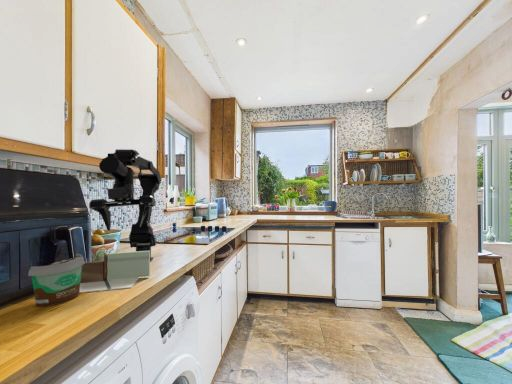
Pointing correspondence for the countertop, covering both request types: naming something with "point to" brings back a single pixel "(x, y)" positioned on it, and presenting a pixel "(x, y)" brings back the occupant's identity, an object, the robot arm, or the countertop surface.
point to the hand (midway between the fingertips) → (124, 228)
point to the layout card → (108, 285)
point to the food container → (57, 281)
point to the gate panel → (128, 264)
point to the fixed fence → (95, 271)
